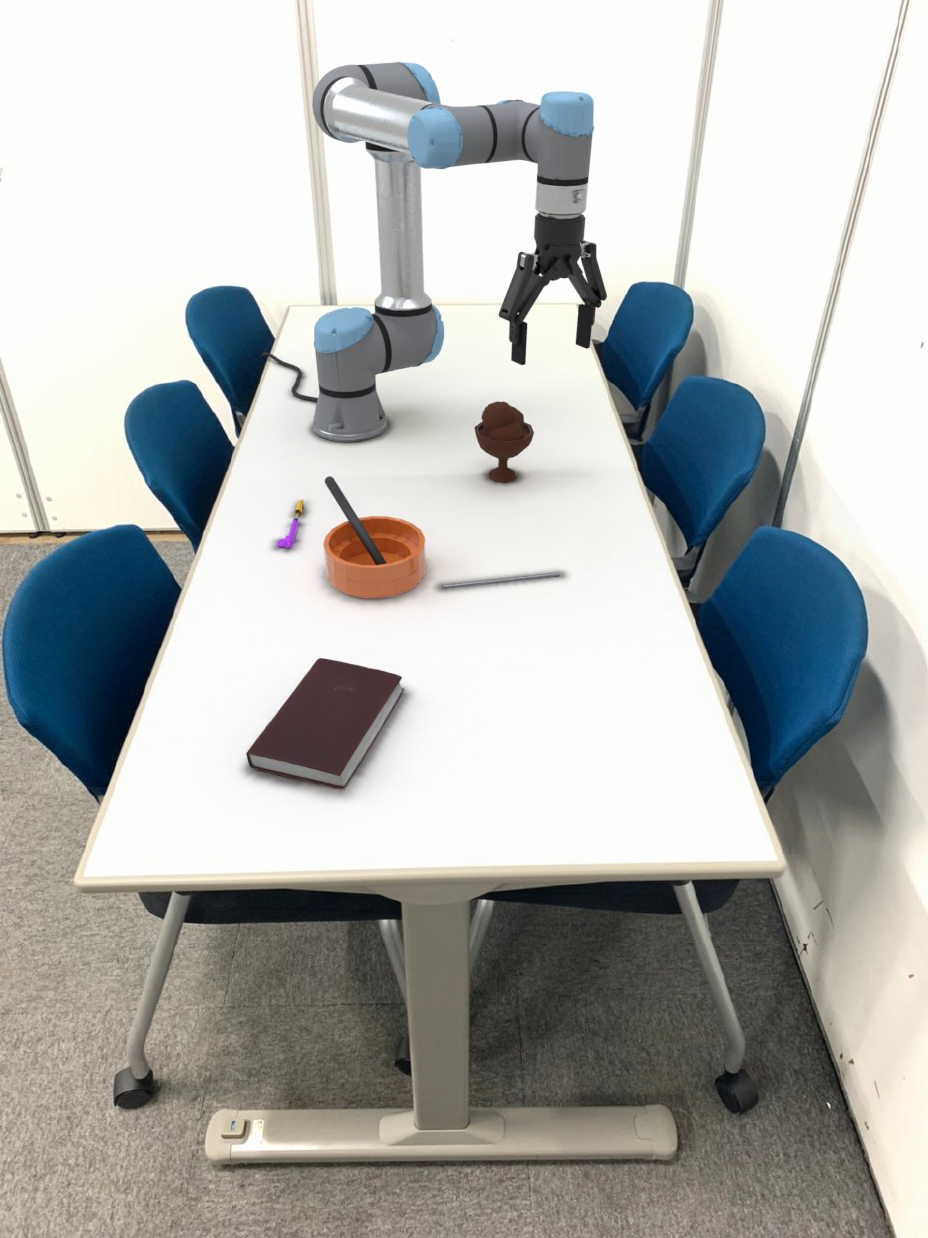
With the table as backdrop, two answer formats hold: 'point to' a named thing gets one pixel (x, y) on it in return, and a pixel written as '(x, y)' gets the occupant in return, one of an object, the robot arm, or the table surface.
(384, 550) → the bowl
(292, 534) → the purple gold bent tool
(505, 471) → the ice cream bowl
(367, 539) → the stick
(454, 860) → the table surface
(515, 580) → the rod
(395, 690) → the book
